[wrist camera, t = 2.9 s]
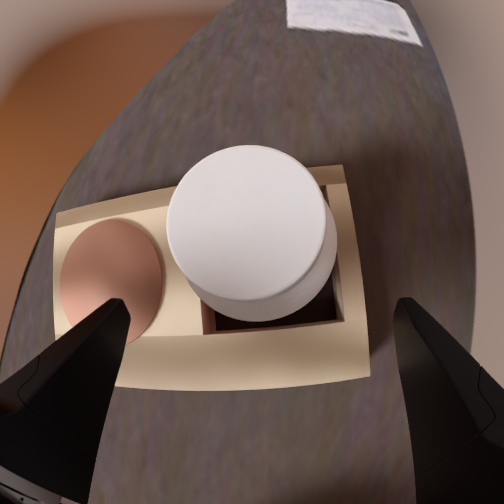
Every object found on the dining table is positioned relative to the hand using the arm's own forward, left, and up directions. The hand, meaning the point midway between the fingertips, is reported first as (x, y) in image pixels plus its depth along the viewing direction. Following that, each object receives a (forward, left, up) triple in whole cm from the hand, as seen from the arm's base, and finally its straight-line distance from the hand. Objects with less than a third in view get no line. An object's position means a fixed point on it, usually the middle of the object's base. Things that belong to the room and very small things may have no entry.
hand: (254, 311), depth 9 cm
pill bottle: (+3, 0, -10) cm, 10 cm away
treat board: (+2, +5, -10) cm, 11 cm away
